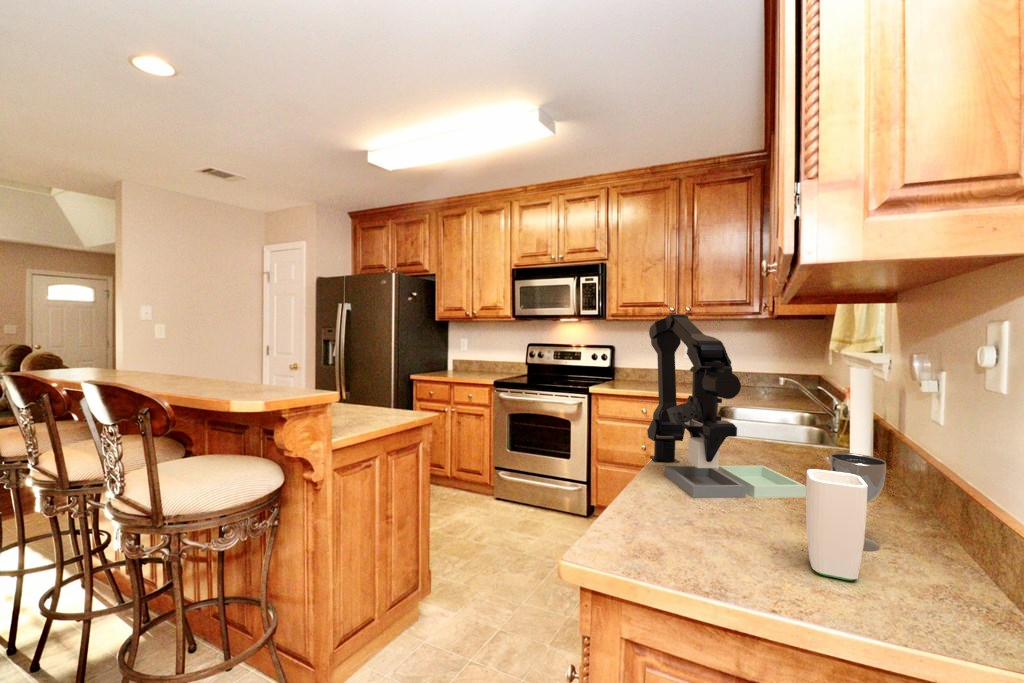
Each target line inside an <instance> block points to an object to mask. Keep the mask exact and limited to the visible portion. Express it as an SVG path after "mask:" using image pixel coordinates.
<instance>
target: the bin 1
mask: <svg viewBox="0 0 1024 683" xmlns="http://www.w3.org/2000/svg"><path fill="white" fill-rule="evenodd" d="M664 477H666V478H667V479H668V481H671V482H672V483H673V484H674V485H676V486H677V487H678V488H679V489H681V490H682V491H683V492H685V493H686V494H687V495H688V496H690V497H691V498H692V499H746V495H747V493H746V486H744V485H743V484H741V483H739V482H738V481H736V480H734V479H733V478H731V477H729V476H727V475H726V474H724V473H722V472H721V471H719V470H718V468H697V467H695V466H694V465H664Z"/></svg>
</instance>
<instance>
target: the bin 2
mask: <svg viewBox="0 0 1024 683" xmlns="http://www.w3.org/2000/svg"><path fill="white" fill-rule="evenodd" d="M717 470H719V471H721V472H722V473H724V474H726V475H727V476H729V477H731V478H733V479H734V480H736V481H738V482H739V483H741V484H743V485H744V486H746V495H747V494H748V495H749V496H751V497H752V498H754V499H758V498H759V499H763V498H764V499H766V498H767V499H768V498H769V499H770V498H771V499H772V498H773V499H775V498H778V499H779V498H781V499H782V498H788V499H789V498H806V485H805V484H803V483H801V482H799V481H797V480H794V479H793V478H791V477H788V476H787V475H784V474H782V473H780V472H778V471H775V470H773V469H772V468H770V467H767V466H765V465H764V464H763V465H719V468H717Z"/></svg>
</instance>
